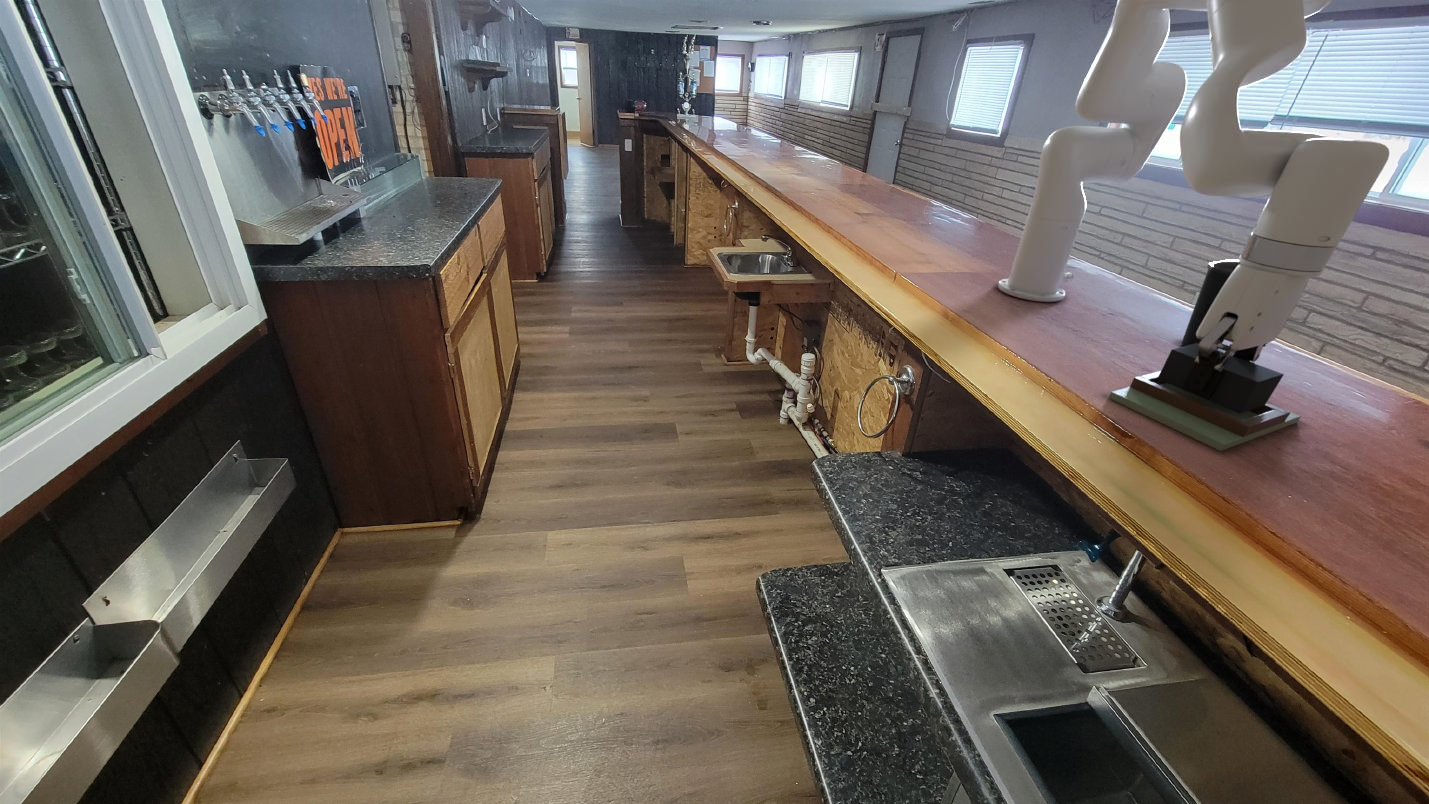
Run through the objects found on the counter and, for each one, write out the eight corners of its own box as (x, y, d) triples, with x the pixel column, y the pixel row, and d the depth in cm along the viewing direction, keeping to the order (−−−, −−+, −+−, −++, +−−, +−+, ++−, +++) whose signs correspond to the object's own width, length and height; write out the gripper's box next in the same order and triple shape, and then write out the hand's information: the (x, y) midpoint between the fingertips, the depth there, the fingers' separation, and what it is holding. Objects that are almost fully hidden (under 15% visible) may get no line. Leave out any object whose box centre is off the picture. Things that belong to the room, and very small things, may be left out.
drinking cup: (1175, 335, 100) (1231, 220, 91) (1229, 349, 96) (1294, 229, 86) (1166, 346, 96) (1224, 226, 86) (1222, 361, 91) (1290, 236, 81)
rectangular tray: (1184, 377, 85) (1191, 362, 84) (1297, 422, 74) (1307, 406, 73) (1108, 397, 79) (1115, 382, 77) (1220, 451, 68) (1231, 433, 66)
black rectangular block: (1157, 378, 78) (1171, 349, 76) (1182, 371, 80) (1197, 343, 78) (1239, 413, 70) (1258, 382, 68) (1265, 405, 73) (1284, 374, 70)
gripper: (1283, 241, 72) (1215, 367, 81) (1207, 252, 66) (1142, 387, 75) (1360, 257, 66) (1277, 390, 75) (1284, 270, 60) (1204, 415, 69)
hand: (1211, 388), depth 75 cm, fingers closed on black rectangular block, 6 cm apart
